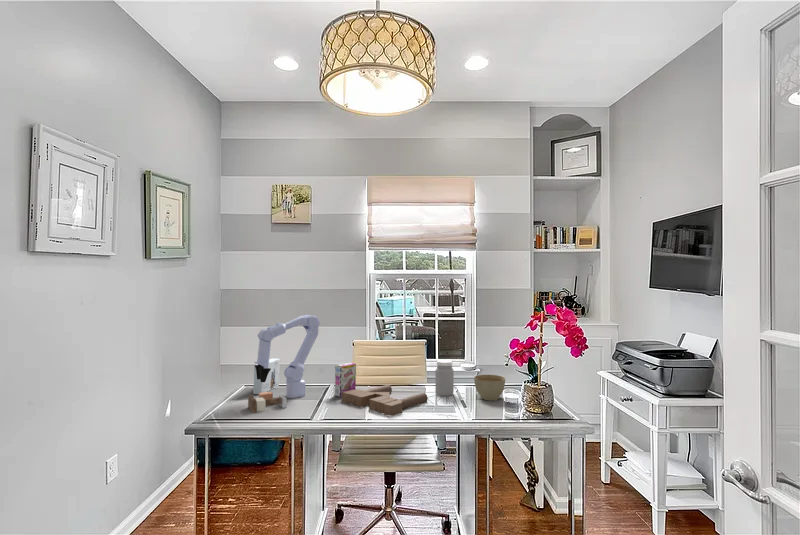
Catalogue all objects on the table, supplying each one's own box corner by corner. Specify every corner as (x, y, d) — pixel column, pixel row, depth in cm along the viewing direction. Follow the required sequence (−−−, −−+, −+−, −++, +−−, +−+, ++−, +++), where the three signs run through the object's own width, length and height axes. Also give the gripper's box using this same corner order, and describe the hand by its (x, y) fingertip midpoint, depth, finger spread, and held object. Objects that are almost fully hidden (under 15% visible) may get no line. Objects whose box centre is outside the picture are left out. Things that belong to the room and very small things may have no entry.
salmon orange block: (258, 403, 234) (258, 393, 234) (270, 401, 237) (270, 391, 237) (260, 404, 231) (260, 394, 231) (272, 403, 234) (272, 393, 234)
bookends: (391, 417, 213) (431, 404, 235) (391, 405, 213) (431, 393, 235) (341, 402, 237) (382, 391, 259) (341, 391, 237) (382, 382, 259)
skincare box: (262, 395, 249) (262, 365, 249) (252, 394, 250) (253, 364, 250) (280, 385, 270) (280, 358, 270) (271, 385, 271) (271, 357, 271)
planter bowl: (495, 393, 254) (495, 373, 254) (511, 401, 238) (511, 380, 238) (468, 395, 249) (468, 375, 249) (483, 404, 233) (483, 382, 234)
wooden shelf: (285, 404, 232) (285, 390, 232) (291, 409, 223) (291, 395, 223) (248, 409, 223) (248, 395, 223) (252, 414, 214) (252, 400, 214)
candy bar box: (340, 397, 244) (340, 366, 244) (334, 396, 247) (334, 365, 247) (356, 393, 252) (356, 363, 253) (350, 392, 256) (350, 362, 256)
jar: (456, 393, 253) (456, 360, 254) (449, 397, 245) (449, 363, 245) (439, 391, 258) (439, 358, 258) (432, 395, 249) (432, 361, 249)
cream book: (262, 407, 223) (262, 397, 223) (265, 411, 218) (265, 400, 218) (253, 409, 221) (253, 398, 221) (256, 412, 216) (256, 401, 216)
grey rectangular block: (283, 404, 228) (283, 395, 228) (286, 407, 223) (286, 398, 223) (279, 404, 227) (279, 395, 227) (282, 408, 222) (282, 398, 222)
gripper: (252, 351, 238) (249, 378, 237) (259, 355, 226) (256, 383, 225) (266, 351, 242) (263, 378, 241) (273, 355, 229) (270, 383, 228)
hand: (261, 380), depth 233 cm, fingers open, 7 cm apart
